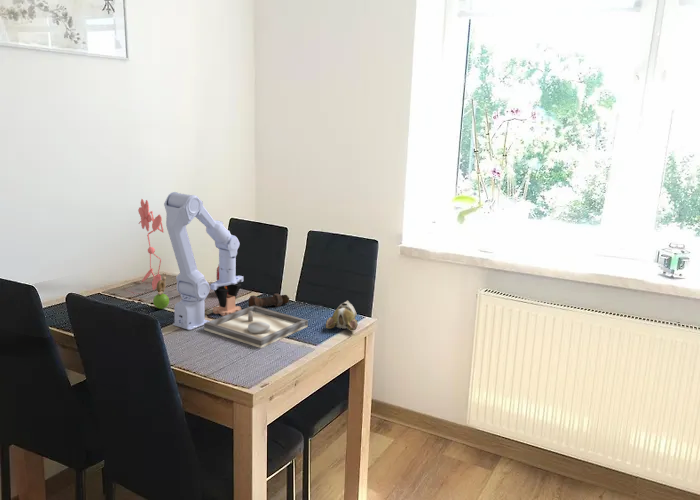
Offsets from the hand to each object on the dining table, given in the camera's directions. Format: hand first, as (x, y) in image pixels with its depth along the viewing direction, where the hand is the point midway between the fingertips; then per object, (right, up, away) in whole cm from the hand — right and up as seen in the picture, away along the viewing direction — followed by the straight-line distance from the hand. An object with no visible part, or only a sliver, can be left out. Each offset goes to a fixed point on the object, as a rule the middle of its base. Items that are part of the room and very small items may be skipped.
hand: (227, 305), depth 216 cm
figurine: (-37, +5, +23) cm, 44 cm away
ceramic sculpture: (+41, -7, -9) cm, 43 cm away
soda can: (-4, +2, +19) cm, 20 cm away
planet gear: (0, -2, +1) cm, 2 cm away
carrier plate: (+13, -6, -14) cm, 20 cm away
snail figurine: (-23, -1, +1) cm, 23 cm away
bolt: (+14, -2, +8) cm, 16 cm away
